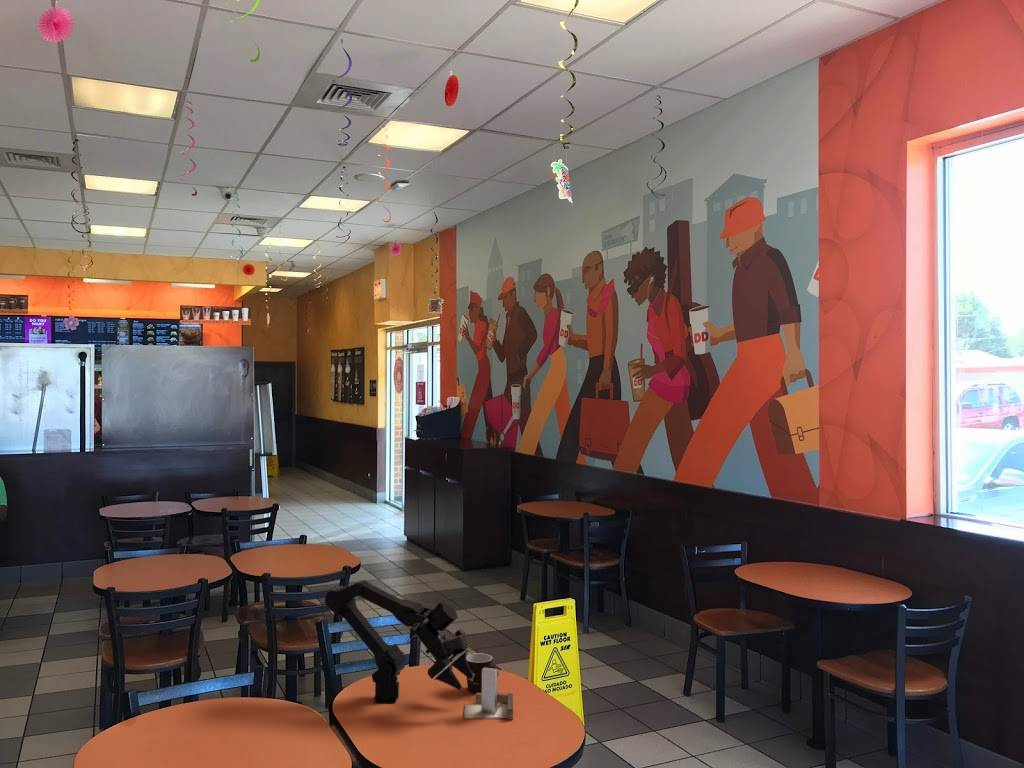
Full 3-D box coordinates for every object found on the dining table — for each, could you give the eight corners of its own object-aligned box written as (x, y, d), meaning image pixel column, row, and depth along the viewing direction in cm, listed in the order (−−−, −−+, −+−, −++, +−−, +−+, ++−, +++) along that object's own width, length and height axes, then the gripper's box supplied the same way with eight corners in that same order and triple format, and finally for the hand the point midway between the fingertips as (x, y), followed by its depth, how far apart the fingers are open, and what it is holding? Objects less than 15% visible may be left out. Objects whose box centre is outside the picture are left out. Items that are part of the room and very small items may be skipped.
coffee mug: (460, 687, 252) (460, 655, 252) (485, 683, 255) (485, 651, 255) (474, 700, 241) (474, 667, 241) (500, 696, 245) (500, 663, 245)
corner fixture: (463, 719, 227) (463, 708, 227) (465, 702, 239) (465, 692, 239) (512, 719, 227) (513, 709, 227) (512, 703, 239) (512, 693, 239)
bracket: (481, 713, 231) (481, 669, 231) (488, 705, 236) (488, 662, 237) (494, 714, 230) (495, 671, 230) (500, 707, 235) (501, 664, 235)
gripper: (439, 632, 226) (474, 677, 223) (463, 615, 244) (495, 656, 241) (412, 656, 228) (447, 701, 225) (438, 637, 246) (470, 678, 243)
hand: (466, 683), depth 233 cm, fingers open, 9 cm apart
